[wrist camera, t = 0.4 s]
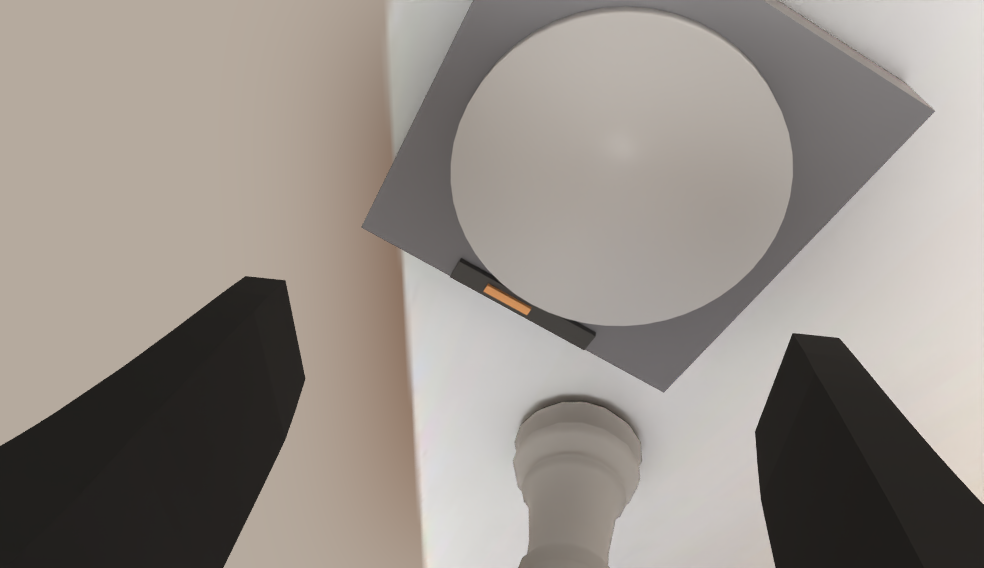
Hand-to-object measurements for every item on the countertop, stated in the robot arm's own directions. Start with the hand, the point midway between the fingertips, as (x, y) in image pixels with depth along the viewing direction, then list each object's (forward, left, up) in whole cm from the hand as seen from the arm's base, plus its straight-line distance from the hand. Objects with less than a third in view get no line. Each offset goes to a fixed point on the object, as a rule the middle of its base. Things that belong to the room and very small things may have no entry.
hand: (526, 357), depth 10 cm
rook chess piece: (-10, -6, -11) cm, 16 cm away
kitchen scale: (0, -1, -11) cm, 11 cm away
